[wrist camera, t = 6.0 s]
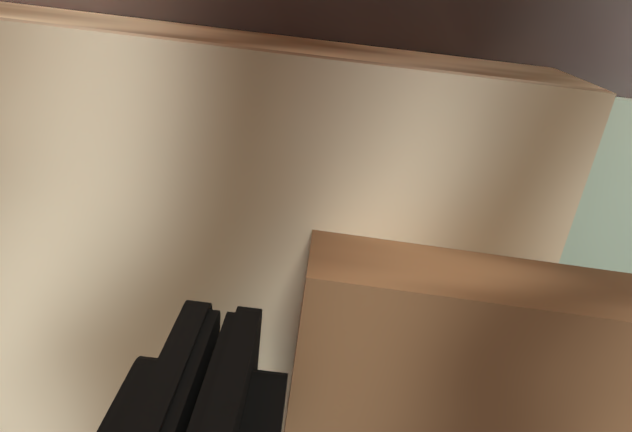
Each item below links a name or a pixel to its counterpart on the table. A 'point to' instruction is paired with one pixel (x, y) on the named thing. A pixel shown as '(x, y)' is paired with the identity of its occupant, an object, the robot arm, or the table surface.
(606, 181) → the mat
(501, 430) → the tile
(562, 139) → the deck
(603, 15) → the table surface
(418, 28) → the table surface
